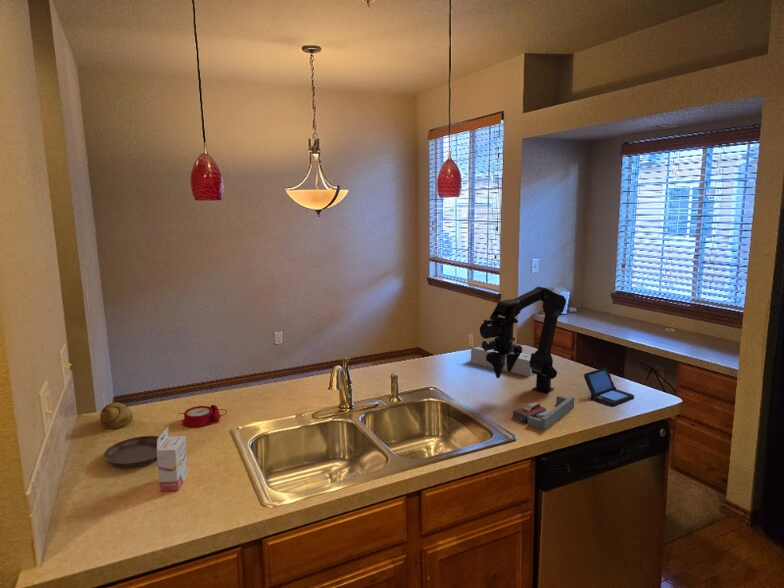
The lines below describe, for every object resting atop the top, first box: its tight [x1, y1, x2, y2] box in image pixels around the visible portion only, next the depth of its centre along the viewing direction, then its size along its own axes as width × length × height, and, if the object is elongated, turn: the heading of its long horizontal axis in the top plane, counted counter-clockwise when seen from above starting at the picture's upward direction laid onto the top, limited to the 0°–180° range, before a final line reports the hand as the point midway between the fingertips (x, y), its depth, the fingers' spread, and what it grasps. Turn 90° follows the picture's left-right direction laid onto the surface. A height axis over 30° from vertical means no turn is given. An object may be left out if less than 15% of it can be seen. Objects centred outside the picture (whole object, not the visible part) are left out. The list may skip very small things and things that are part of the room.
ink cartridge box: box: [156, 426, 189, 492], centre depth 137 cm, size 9×5×15 cm, turn 5°
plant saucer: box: [103, 435, 164, 470], centre depth 152 cm, size 18×18×3 cm
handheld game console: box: [583, 367, 635, 407], centre depth 198 cm, size 16×13×9 cm
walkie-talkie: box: [512, 402, 550, 424], centre depth 182 cm, size 9×4×20 cm
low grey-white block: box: [470, 345, 535, 377], centre depth 235 cm, size 30×14×8 cm, turn 48°
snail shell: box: [99, 401, 134, 430], centre depth 174 cm, size 13×10×8 cm
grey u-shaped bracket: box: [526, 394, 576, 432], centre depth 181 cm, size 26×6×4 cm, turn 140°
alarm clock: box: [178, 404, 228, 429], centre depth 177 cm, size 10×6×15 cm
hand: (503, 374), depth 193 cm, fingers open, 9 cm apart
